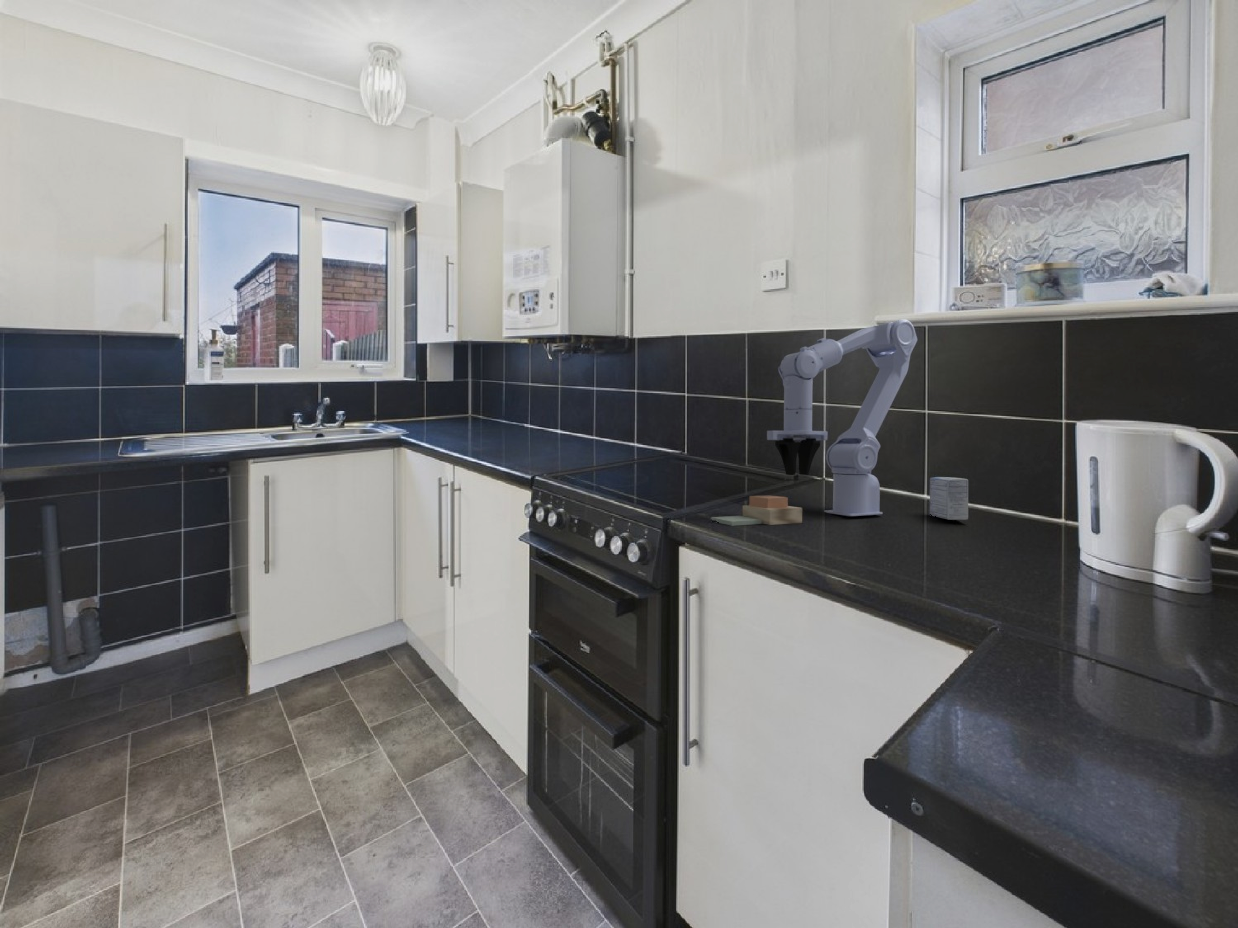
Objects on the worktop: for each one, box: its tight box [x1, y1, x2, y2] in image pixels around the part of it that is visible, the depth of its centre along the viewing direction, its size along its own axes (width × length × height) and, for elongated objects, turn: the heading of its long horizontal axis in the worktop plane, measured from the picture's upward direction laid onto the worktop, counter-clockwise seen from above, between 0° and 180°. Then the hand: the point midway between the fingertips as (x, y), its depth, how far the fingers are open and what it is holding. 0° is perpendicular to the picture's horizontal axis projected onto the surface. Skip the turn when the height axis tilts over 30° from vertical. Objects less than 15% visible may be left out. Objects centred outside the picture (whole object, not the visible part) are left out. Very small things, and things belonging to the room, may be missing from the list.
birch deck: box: [742, 504, 803, 526], centre depth 124 cm, size 8×9×3 cm
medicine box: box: [929, 476, 969, 521], centre depth 131 cm, size 8×4×9 cm, turn 179°
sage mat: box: [710, 515, 763, 527], centre depth 122 cm, size 7×8×1 cm
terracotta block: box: [748, 494, 789, 508], centre depth 125 cm, size 5×6×2 cm
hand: (797, 474), depth 128 cm, fingers open, 3 cm apart
